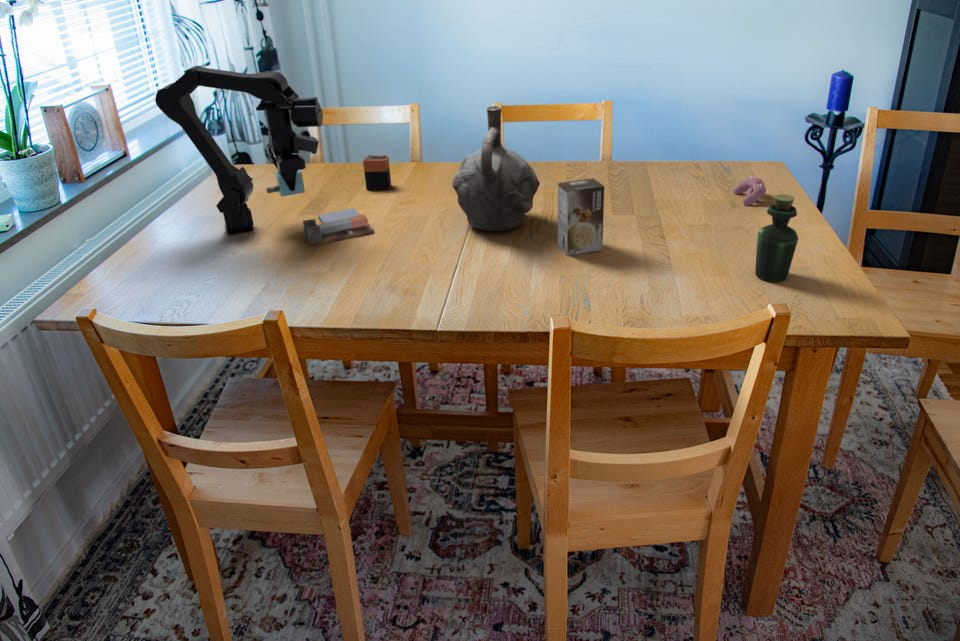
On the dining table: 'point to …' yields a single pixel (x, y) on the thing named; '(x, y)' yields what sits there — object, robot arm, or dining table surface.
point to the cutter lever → (343, 224)
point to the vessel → (495, 182)
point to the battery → (377, 172)
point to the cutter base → (318, 238)
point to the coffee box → (580, 216)
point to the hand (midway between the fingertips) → (290, 188)
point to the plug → (283, 187)
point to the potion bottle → (777, 241)
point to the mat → (337, 215)
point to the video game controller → (751, 190)
